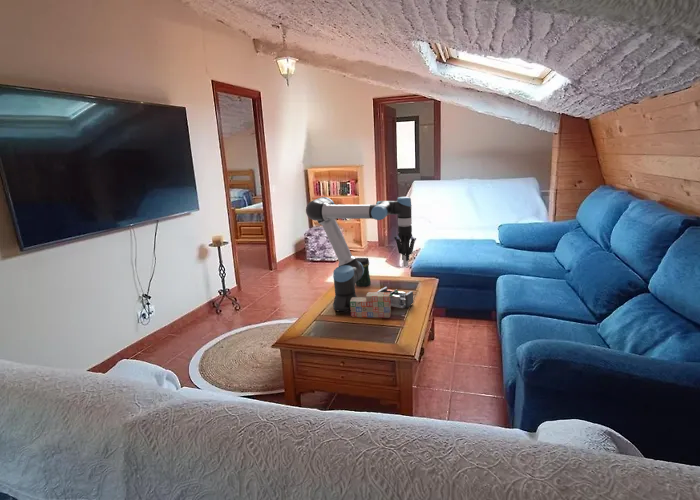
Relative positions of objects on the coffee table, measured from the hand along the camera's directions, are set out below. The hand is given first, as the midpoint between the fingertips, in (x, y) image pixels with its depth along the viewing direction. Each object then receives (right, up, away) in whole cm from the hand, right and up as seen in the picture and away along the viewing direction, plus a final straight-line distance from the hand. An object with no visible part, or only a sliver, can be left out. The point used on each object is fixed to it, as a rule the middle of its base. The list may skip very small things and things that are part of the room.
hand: (405, 265), depth 231 cm
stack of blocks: (-20, -27, -9) cm, 35 cm away
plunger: (-4, -22, +3) cm, 22 cm away
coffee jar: (-23, -14, +40) cm, 48 cm away
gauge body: (-6, -22, +4) cm, 23 cm away
